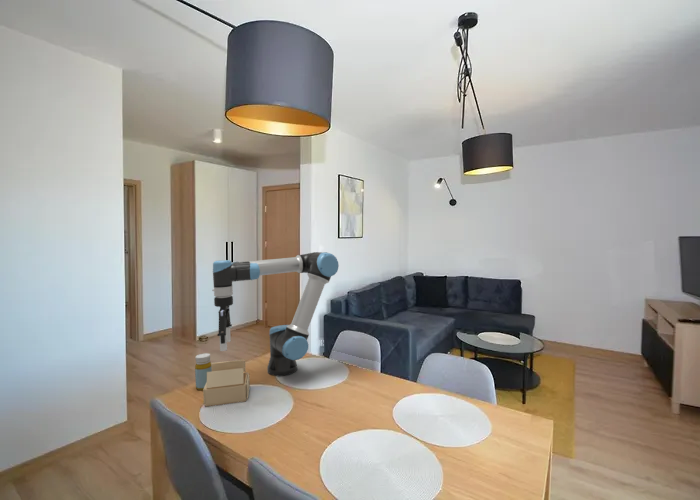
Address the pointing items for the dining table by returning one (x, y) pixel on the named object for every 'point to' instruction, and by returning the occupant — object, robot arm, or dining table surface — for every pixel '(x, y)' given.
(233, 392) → the carton
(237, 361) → the back flap
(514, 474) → the dining table surface
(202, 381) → the bottle
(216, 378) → the front flap
